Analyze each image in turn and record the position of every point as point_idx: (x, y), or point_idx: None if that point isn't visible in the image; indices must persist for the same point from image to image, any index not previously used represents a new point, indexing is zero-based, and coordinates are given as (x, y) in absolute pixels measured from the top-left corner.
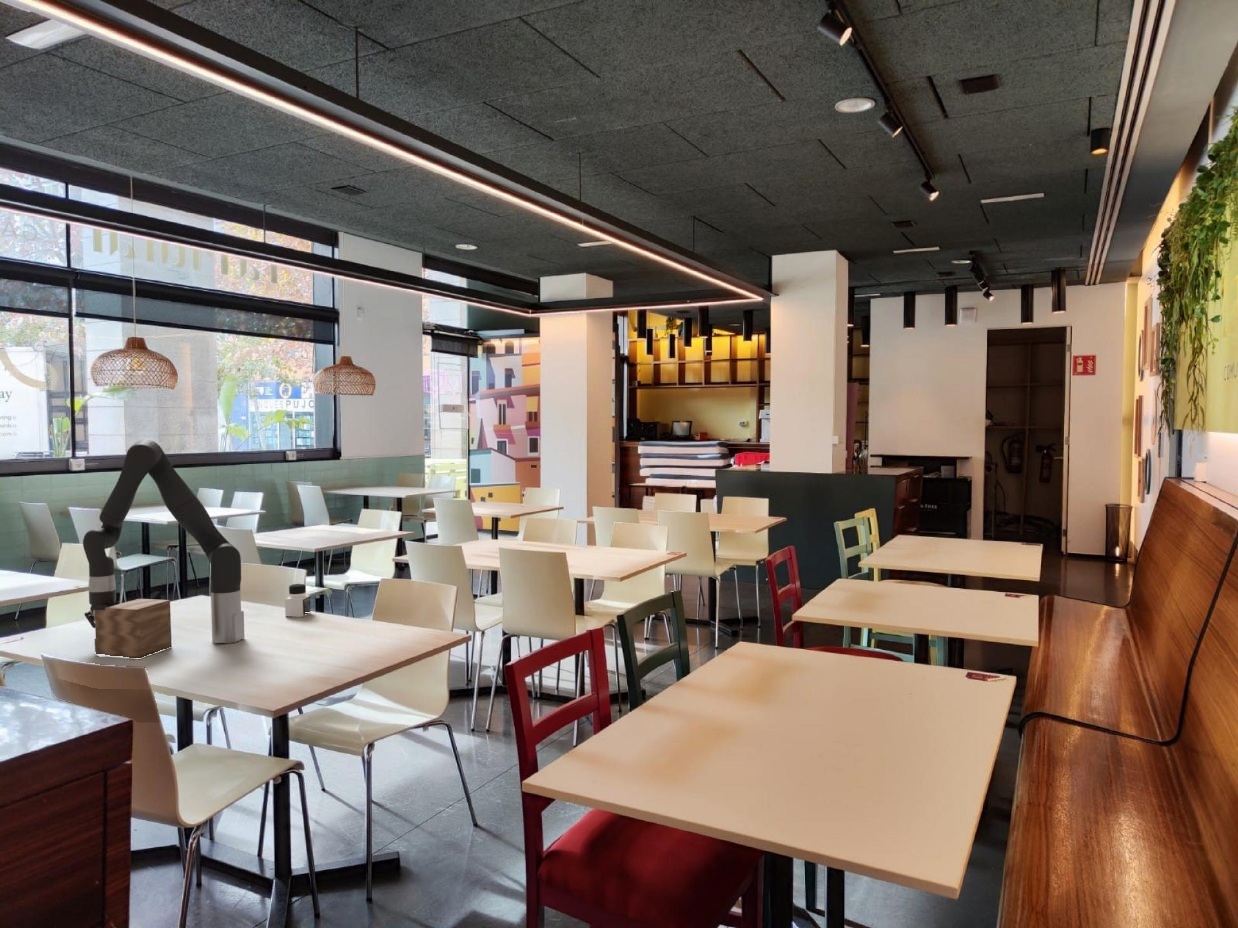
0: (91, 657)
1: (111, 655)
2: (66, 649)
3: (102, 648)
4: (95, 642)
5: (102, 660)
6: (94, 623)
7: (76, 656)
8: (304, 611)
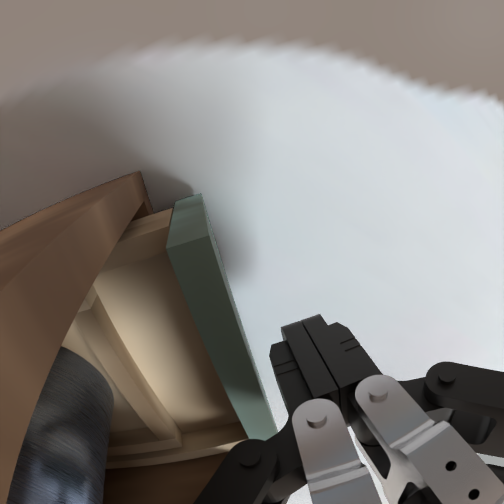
0: (156, 138)
1: (14, 224)
2: (478, 194)
3: (55, 208)
4: (196, 224)
5: (8, 148)
6: (459, 404)
7: (301, 100)
8: None
